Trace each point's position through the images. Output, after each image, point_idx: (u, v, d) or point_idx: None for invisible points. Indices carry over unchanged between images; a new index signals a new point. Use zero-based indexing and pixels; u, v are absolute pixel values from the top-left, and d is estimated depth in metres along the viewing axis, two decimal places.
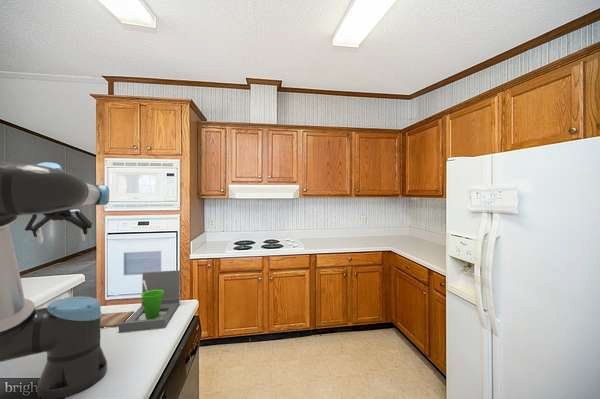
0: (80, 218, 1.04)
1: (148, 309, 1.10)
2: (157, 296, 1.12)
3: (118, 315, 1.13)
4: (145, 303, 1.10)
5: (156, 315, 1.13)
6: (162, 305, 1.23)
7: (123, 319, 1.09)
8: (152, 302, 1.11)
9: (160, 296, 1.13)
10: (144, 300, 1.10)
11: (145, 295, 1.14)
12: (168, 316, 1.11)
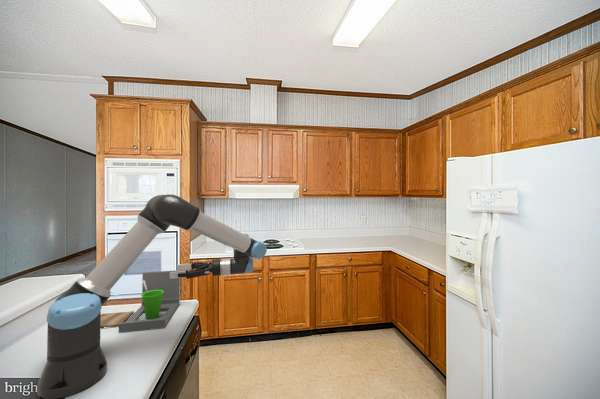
0: (200, 270, 1.13)
1: (148, 309, 1.10)
2: (157, 296, 1.12)
3: (118, 315, 1.13)
4: (145, 303, 1.10)
5: (156, 315, 1.13)
6: (162, 305, 1.23)
7: (123, 319, 1.09)
8: (152, 302, 1.11)
9: (160, 296, 1.13)
10: (144, 300, 1.10)
11: (145, 295, 1.14)
12: (168, 316, 1.11)
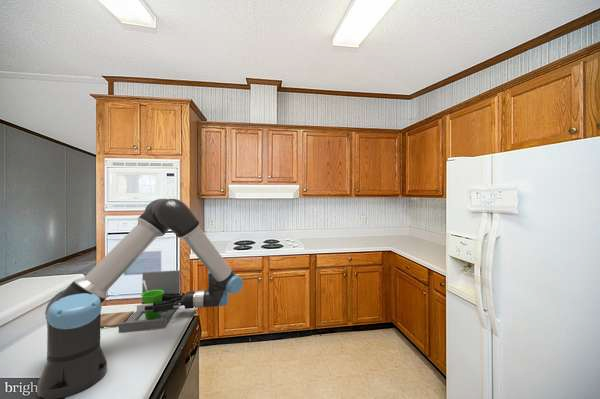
0: (169, 304, 1.10)
1: None
2: (157, 296, 1.12)
3: (118, 315, 1.13)
4: (145, 303, 1.10)
5: (156, 315, 1.13)
6: None
7: (123, 319, 1.09)
8: (152, 302, 1.11)
9: (160, 296, 1.13)
10: (144, 300, 1.10)
11: (145, 295, 1.14)
12: (168, 316, 1.11)
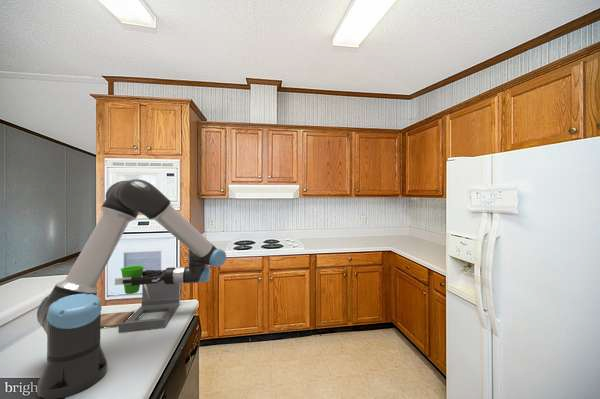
0: (148, 278, 1.09)
1: None
2: (136, 270, 1.11)
3: (118, 315, 1.13)
4: (124, 277, 1.10)
5: (135, 290, 1.12)
6: (162, 305, 1.23)
7: (123, 319, 1.09)
8: (131, 276, 1.10)
9: (140, 271, 1.12)
10: (123, 274, 1.10)
11: (125, 270, 1.14)
12: (168, 316, 1.11)
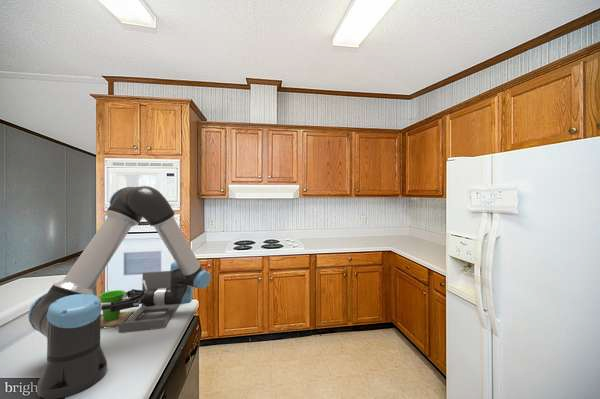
0: (128, 302, 1.05)
1: (106, 310, 1.07)
2: (116, 297, 1.08)
3: None
4: None
5: (115, 316, 1.09)
6: None
7: (123, 319, 1.09)
8: None
9: (120, 297, 1.10)
10: (102, 301, 1.07)
11: (104, 295, 1.11)
12: (168, 316, 1.11)
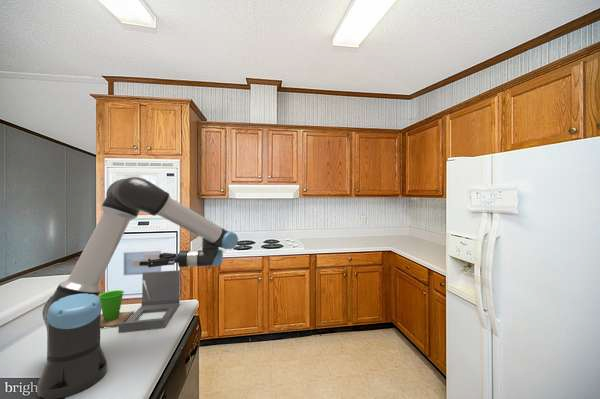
0: (164, 259, 1.09)
1: (106, 310, 1.07)
2: (115, 297, 1.08)
3: None
4: (102, 304, 1.07)
5: (115, 316, 1.09)
6: (162, 305, 1.23)
7: (123, 319, 1.09)
8: (110, 303, 1.07)
9: (119, 297, 1.09)
10: (101, 301, 1.07)
11: (104, 296, 1.11)
12: (168, 316, 1.11)
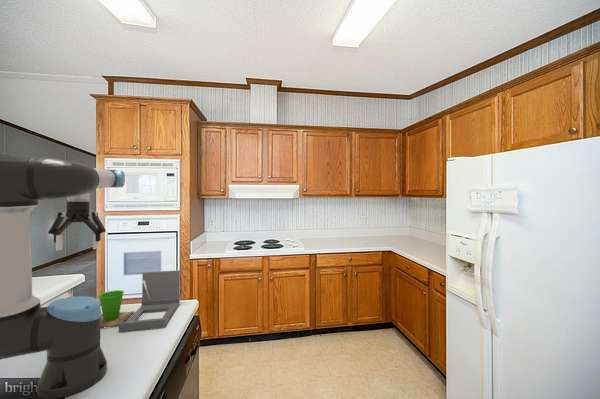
0: (95, 220, 1.10)
1: (106, 310, 1.07)
2: (115, 297, 1.08)
3: None
4: (102, 304, 1.07)
5: (115, 316, 1.09)
6: (162, 305, 1.23)
7: (123, 319, 1.09)
8: (110, 303, 1.07)
9: (119, 297, 1.09)
10: (101, 301, 1.06)
11: (104, 296, 1.11)
12: (168, 316, 1.11)
